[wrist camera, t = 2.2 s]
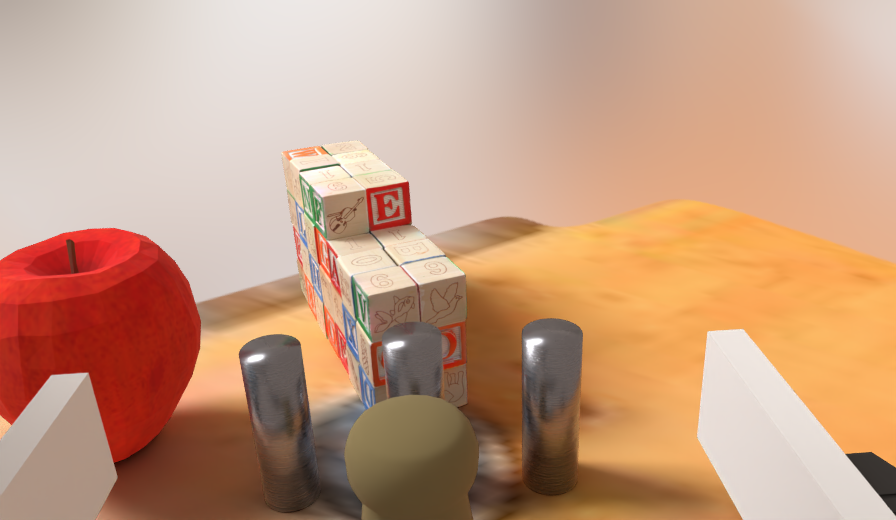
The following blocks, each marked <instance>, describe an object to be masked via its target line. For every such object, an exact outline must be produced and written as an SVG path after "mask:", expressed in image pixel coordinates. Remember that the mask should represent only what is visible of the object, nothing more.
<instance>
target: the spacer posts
mask: <svg viewBox="0 0 896 520" xmlns="http://www.w3.org/2000/svg"><path fill="white" fill-rule="evenodd" d="M582 341H583V333H582V330H581V329H580V328H579V327H578V326H577V325H576V324H574V323H572V322H569V321H566V320H562V319H552V318H550V319H540V320H536V321H533V322H531V323H529V324H527V325H526V326H525V327H524V328H523V330H522V478H523V481H524V483H525V484H526V486H527V487H529V488H530V489H531V490H533V491H535V492H537V493H540V494H544V495H559V494H563V493H566V492H568V491H570V490H571V489H572V488H573V487H574V486H575V485H576V483H577V477H578V450H579V423H580V395H581V368H582ZM382 346H383V358H384V369H385V380H386V392H387V399H390V398H393V397H399V396H405V395H427V396H432V397H436V398H441V399H443V400H445V392H444V373H443V353H442V334H441V331H440V330H439V329H438V328H437V327H436V326H434V325H432V324H429V323H425V322H405V323H400V324H397V325H394V326H392V327H390V328H389V329H387V330H386V331H385V332H384V334H383V335H382ZM239 359H240V364H241V370H242V375H243V381H244V387H245V392H246V398H247V403H248V409H249V414H250V420H251V426H252V431H253V437H254V442H255V448H256V453H257V459H258V464H259V470H260V476H261V481H262V487H263V492H264V498H265V502H266V504H267V505H268V506H269V507H270V508H271V509H273V510H276V511H279V512H294V511H298V510H301V509H304V508H306V507H308V506H309V505H311V504H312V503H313V502H314V501H315V500H316V499H317V498H318V496H319V494H320V491H321V487H320V480H319V473H318V466H317V459H316V451H315V444H314V437H313V430H312V423H311V416H310V409H309V401H308V394H307V387H306V380H305V373H304V366H303V359H302V351H301V344H300V342H299V341H298V340H297V339H296V338H294V337H292V336H289V335H282V334H275V335H267V336H262V337H259V338H256V339H254V340H252V341H250V342H248V343H246V344H245V345H244V346H243V347H242V348H241V350H240V351H239Z"/></svg>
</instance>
